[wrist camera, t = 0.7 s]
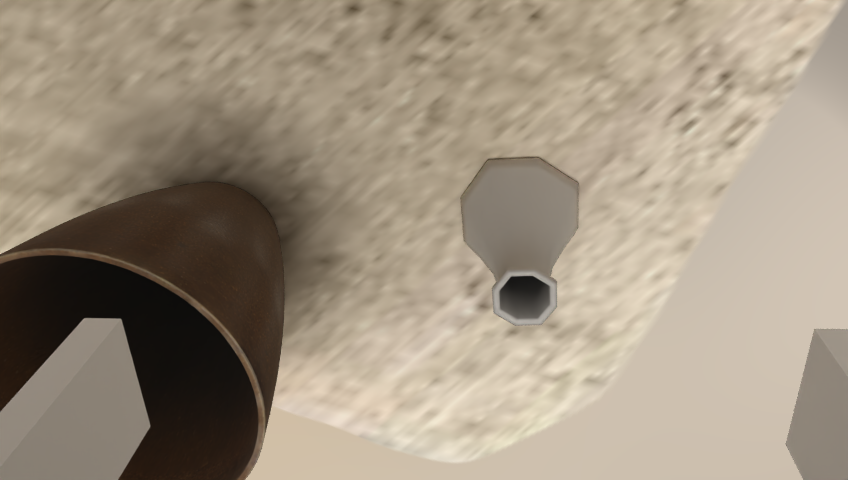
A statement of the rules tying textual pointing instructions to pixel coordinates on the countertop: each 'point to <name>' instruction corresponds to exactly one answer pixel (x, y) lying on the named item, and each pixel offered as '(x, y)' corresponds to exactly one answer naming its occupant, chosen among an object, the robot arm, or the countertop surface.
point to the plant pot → (163, 318)
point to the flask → (520, 232)
